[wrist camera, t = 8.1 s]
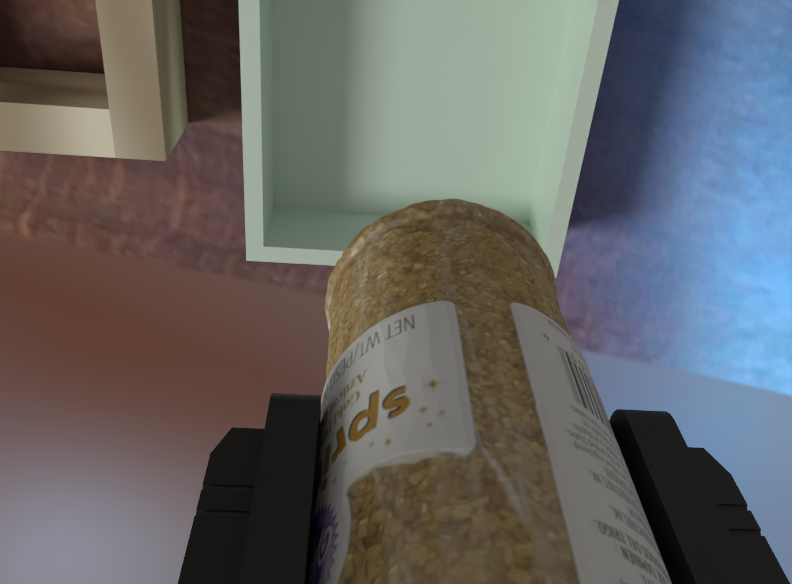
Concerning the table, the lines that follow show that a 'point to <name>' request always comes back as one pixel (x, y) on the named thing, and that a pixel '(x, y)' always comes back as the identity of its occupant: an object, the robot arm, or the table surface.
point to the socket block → (105, 91)
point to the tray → (413, 114)
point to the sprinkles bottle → (464, 418)
